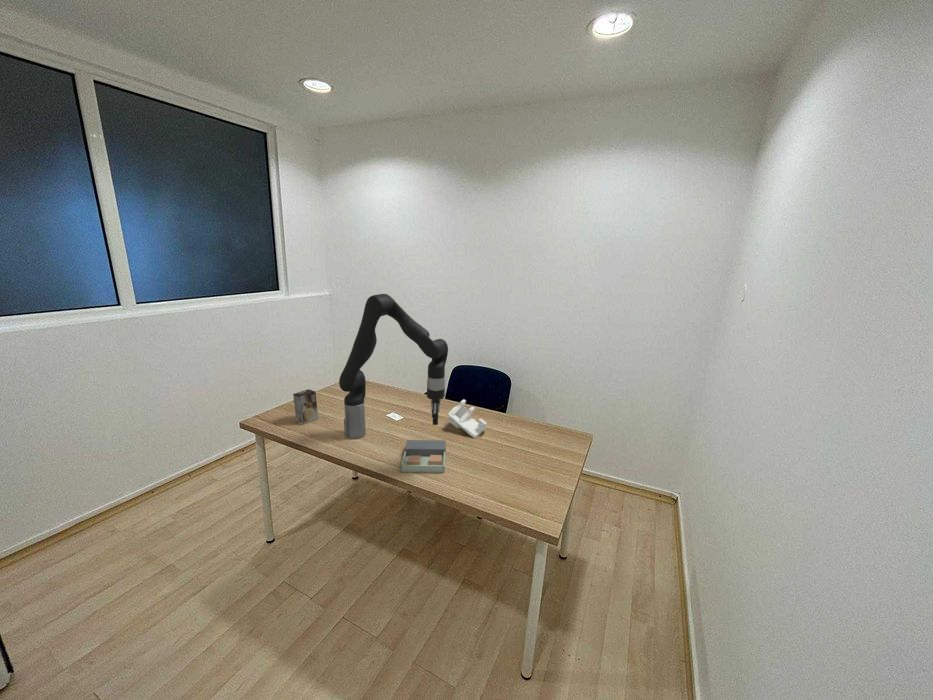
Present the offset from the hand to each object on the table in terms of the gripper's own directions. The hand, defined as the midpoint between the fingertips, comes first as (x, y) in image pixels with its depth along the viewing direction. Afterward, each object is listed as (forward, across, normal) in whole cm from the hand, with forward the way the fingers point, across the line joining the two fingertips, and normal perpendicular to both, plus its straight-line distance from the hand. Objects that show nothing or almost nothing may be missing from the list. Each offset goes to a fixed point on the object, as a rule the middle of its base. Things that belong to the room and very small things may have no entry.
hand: (435, 424), depth 152 cm
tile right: (+14, +4, +1) cm, 14 cm away
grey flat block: (+17, -5, -4) cm, 18 cm away
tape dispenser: (+17, -28, +15) cm, 36 cm away
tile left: (+14, +5, -8) cm, 17 cm away
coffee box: (+18, -36, -70) cm, 81 cm away
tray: (+17, +5, -4) cm, 18 cm away
